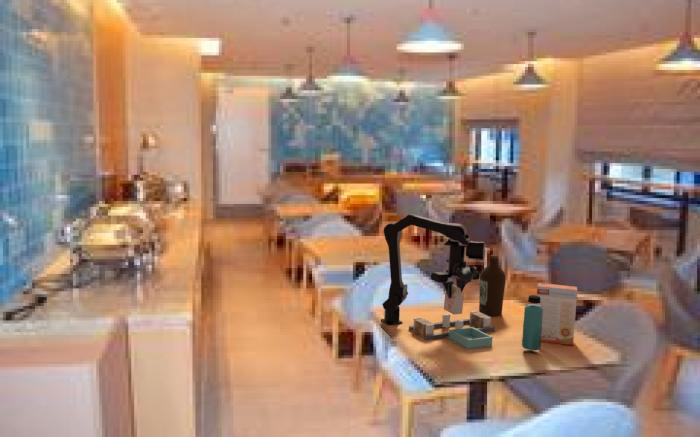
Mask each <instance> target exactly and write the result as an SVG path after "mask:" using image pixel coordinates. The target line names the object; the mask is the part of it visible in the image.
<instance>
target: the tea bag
mask: <svg viewBox="0 0 700 437" xmlns="http://www.w3.org/2000/svg"><path fill="white" fill-rule="evenodd" d="M443 304H444V305H443V309H444V311H446V312H449V314H450V313H451V314H452V315H462V314H463V309H464V308H463V306H464V296H463V292H462V293H461V288H458V287H457V286H456V285H454V284H453V285H452V294H451V299H450V298H448V295H447V293H446V292H445V294H444V303H443Z"/></svg>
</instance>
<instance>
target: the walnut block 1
mask: <svg viewBox="0 0 700 437" xmlns="http://www.w3.org/2000/svg"><path fill="white" fill-rule="evenodd" d="M433 323H434V322H431V321H429V320H427V319H426V318H422V319H418V320H415V331H413V332H414V333H415V334H417V335H418V336H420V337H421V338H424V335H426V325H428V324H433Z"/></svg>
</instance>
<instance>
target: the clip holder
mask: <svg viewBox="0 0 700 437" xmlns="http://www.w3.org/2000/svg"><path fill="white" fill-rule="evenodd" d="M478 312H479V310H478V311H477V310H472V311H469V318H466V319H454V320H451V314H450V313H446V314H442V318H441V319H442V321H439V322H432V323H433V324H428V325H426V335H424V337H423V339H424V340H426V341H431V340H432V341H433V340H437V339H438V340H439V339H446V338H445V337H447V338H449V331H445V332H438V333H434V332H435V329H437V328H439V327H440V328H442V327H446V328H450V327H453V326H452V325H455V326H454V329H459V328H464V325H471V316H472V313H478ZM418 319H423V318H422V317H420V316H419V317H414V318H413V324H412V325H409V326H408V330H409V331H410V332H414V331H415V320H418ZM463 324H464V325H463ZM474 328H475V327H474ZM475 329H477V330H479V331H481V332H483V333H491V332H496V326H493V325H492V316H489V317H486V318H484V320H483V327H482V328H475Z"/></svg>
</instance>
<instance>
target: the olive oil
mask: <svg viewBox="0 0 700 437" xmlns="http://www.w3.org/2000/svg"><path fill="white" fill-rule="evenodd" d="M489 256H490V257H489V264H488V265H487V266H485V267H484V268H483V269H481V272H480V273H479V274H480V277H479V300H478V301H479V303H478V312H480V313H483V314H485V315H487V316H489V317H500V316H502V314H503V305H504V296H505V289H506V288H505V287H506V280H507V278H506V273H505V271H504V270H503V269H502V268H501V266H500V265H499V255H498V254H496V253H495V254H490V255H489Z"/></svg>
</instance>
